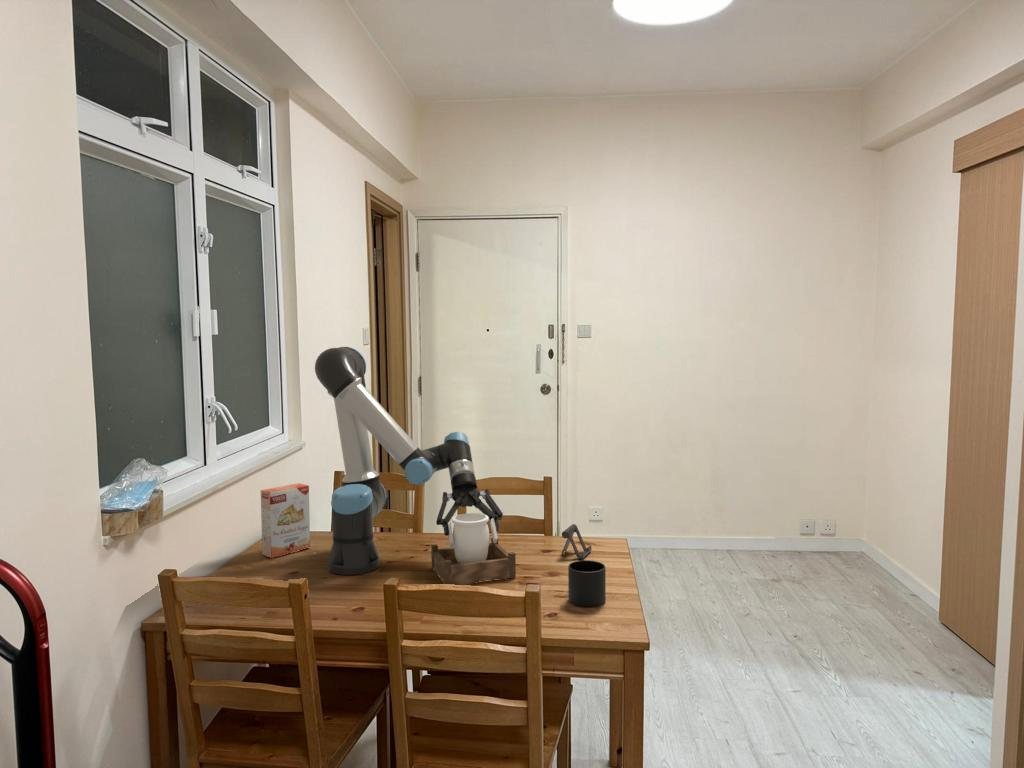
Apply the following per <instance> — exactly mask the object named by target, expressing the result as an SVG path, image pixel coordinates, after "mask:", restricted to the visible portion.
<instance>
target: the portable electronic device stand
mask: <svg viewBox="0 0 1024 768" xmlns="http://www.w3.org/2000/svg"><path fill="white" fill-rule="evenodd" d="M574 534H576V535H577V538H578V540H579V543H580V545H581V548H582V550H583V551H582V552H581V553H580V552H579V550H578V547H577V545H576V543H575V541H574V539H573V537H574ZM561 536H562V537H561V538H563V539H567V540H566V542H565V544H564V547H563V549H562V552H561V553H560V555H561V554H563V555H564V553H565V552H564V551H566V550H567V551H568V548H569V546H570V544H571V546H572V548H573V552H574V554H575V556H576V558H577V560H579V559H581V560H580V561H583V560H584V558H585V557H587V556H588V555H589V554H590V553H591V552H592V545H588V547H586V544H585V542H584V539H583V538H582V535H581V533H580V531H579V529H578V526H577V525H576V524H575V523H573V524H571V525H570V526H568V527H567V528H566V529H565V530H564V531H562V532H561ZM567 551H566V552H567Z"/></svg>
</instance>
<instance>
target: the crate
mask: <svg viewBox="0 0 1024 768" xmlns="http://www.w3.org/2000/svg"><path fill="white" fill-rule="evenodd" d="M490 539H491V541H490V542H489V547H488V555H487V558H486V561H480V562H472V563H464V564H459V563H458V562H457V560H456V557H455V552H454V546H453V547H445V548H439V546H438V544H436V543H435V544H430V549H431V551H430V552H431V553H430V554H431V557H430V559H431V569H434V570H435V571H436V573H437V574H438V575H439V576H440V578H441V579H442V580H443V582H444V583H445V584H455V585H461V586H467V585H473V584H472V583H475V584H477V583H476V582H479V581H485V580H495V579H505V578H506V579H505V580H508V579H507V578H514V579H516V578H517V577H516V576H517V570H516V563H517V562H516V552H514V551H513V552H512V551H511V552H508V551H507V550H506V549H504V548H503V546H501V545H500V544H499V539H498V540H497V543H494V542H493V537H491V538H490ZM434 570H433V571H434ZM435 571H434V572H435ZM436 573H435V574H436ZM437 574H436V575H437ZM438 575H437V576H438ZM515 577H516V578H515ZM440 578H439V579H440ZM441 579H440V580H441ZM443 582H442V583H443ZM444 583H443V584H444Z"/></svg>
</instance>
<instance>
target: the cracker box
mask: <svg viewBox="0 0 1024 768" xmlns="http://www.w3.org/2000/svg"><path fill="white" fill-rule="evenodd" d="M260 515H261V517H260V519H261V520H260V521H261V522H260V523H261V547H262V548H261V549H262V551H261V552H262V554H263V555H265V556H264V557H266V556H267V558H268V557H270V558H269V559H271V558H273V559H275V558H274V557H277V556H280V557H282V556H281V555H284V554H287V553H291V552H293V551H297V550H301V549H304V548H308V547H310V548H311V529H310V527H311V524H310V523H311V522H310V520H311V519H310V517H311V516H310V486H309V485H308V484H306V483H305V484H304V483H300V482H298V483H293V484H289V485H283V486H277V487H270V488H266V489H261V490H260ZM263 555H262V556H263ZM284 556H285V555H284ZM277 558H278V557H277Z"/></svg>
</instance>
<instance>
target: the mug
mask: <svg viewBox="0 0 1024 768" xmlns="http://www.w3.org/2000/svg"><path fill="white" fill-rule="evenodd" d="M567 569H568V570H567V571H568V572H567V574H568V575H567V576H568V579H567V580H568V584H567V585H568V589H567V590H568V592H567V593H568V601H569V603H570V604H572V605H574V606H577V607H583V608H595V607H599V606H601V605H603V604H605V602H606V601H607V599H606V594H607V593H606V589H607V588H606V587H607V586H606V583H607V581H606V580H607V579H606V571H607V570H606V565H605V564H604V563H602V562H600V561H595V560H587V559H586V560H585V559H582V560H577V561H573V562H571V563H569V564H568V567H567Z"/></svg>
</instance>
